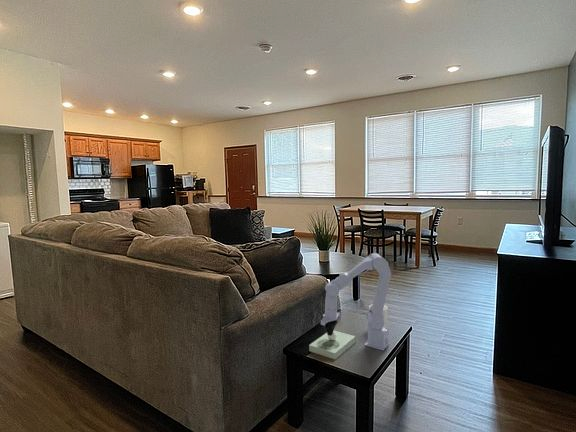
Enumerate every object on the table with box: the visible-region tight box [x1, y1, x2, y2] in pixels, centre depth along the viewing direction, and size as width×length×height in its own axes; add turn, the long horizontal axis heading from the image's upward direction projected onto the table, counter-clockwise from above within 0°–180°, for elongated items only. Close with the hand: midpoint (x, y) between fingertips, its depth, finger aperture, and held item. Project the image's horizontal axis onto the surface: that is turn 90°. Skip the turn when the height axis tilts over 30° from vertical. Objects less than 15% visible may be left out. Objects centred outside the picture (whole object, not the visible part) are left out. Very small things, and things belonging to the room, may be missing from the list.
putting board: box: [308, 330, 357, 360], centre depth 164 cm, size 14×20×3 cm
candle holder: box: [368, 303, 389, 330], centre depth 181 cm, size 10×10×12 cm
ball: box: [328, 332, 336, 341], centre depth 164 cm, size 4×4×4 cm
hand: (329, 335), depth 163 cm, fingers closed, pressing on ball
